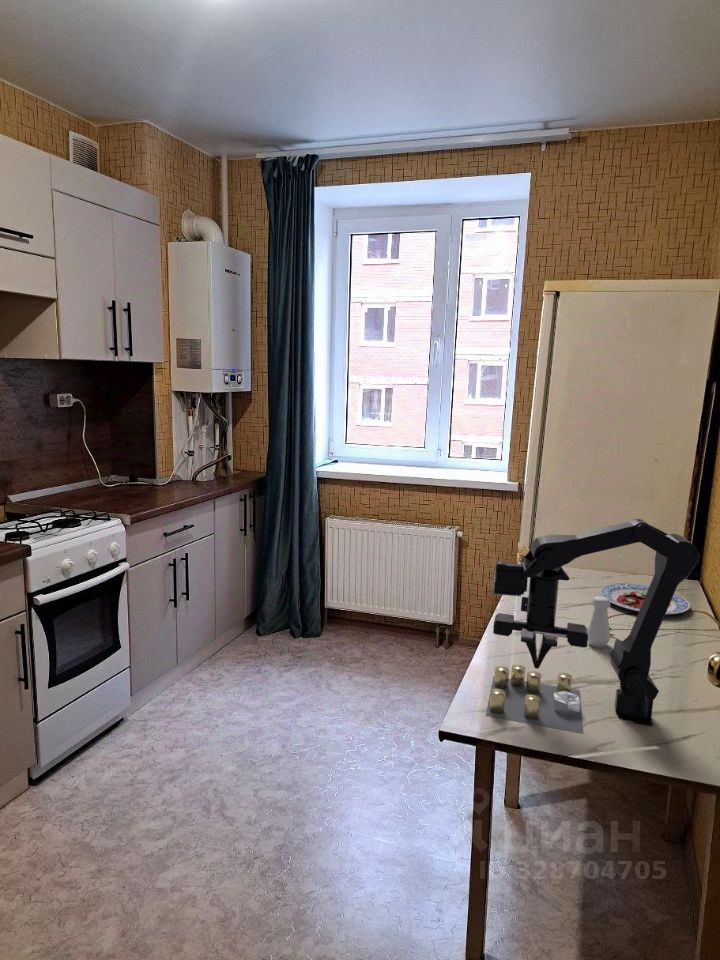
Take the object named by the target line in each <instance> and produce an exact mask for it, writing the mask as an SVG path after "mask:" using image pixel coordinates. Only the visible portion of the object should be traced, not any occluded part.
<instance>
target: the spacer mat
mask: <svg viewBox="0 0 720 960" xmlns="http://www.w3.org/2000/svg"><path fill="white" fill-rule="evenodd" d="M494 681H495V675H493V677H492V681H491V687H490V692H489V697H488V701H487V706H486V711H485V716H486V717H489V718H495V719H500V720H505V721H512V722H517V723H523V724H527V725H534V726H539V727H543V728H544V727H545V728H551V729H553V730H554V729H555V730H560V731H565V732H570V733H571V732H572V733H577V734H582V735H583V734H584V724H583V712H582V700H581V690H580V689H574V688H571V693H572V694H574V695H577V696H578V697H579V701H580V708H579V714H573V715H565V714H562V713H560V712H558V711H555V710H554V707H553V696H554V693H556V692H557V685H551V684H544V683H541V687H540V693H539V694H530V693H528V692H527V691H526V685H527V680H525V681H524V686H523V687H515V686H512V685H511V678H509V677H508V687H507V688H506V689H501V690H503V691H504V692H505V707H504V713H502V714H495V713H492V712H491V711H490V695H491V690H492V689H500V688H497V687H495V686H494ZM526 695H536V696H538V697H539V698H540V711H539V719H538V720H529V719H527V718H525V717H524V708H525V697H526Z"/></svg>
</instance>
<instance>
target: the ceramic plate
mask: <svg viewBox="0 0 720 960" xmlns="http://www.w3.org/2000/svg"><path fill="white" fill-rule="evenodd" d="M649 587H650V585H645V584H644V585H642V584H636V583H635V584H634V583H615V584H614V583H613V584H607V585H606V586H603V587H602V588H601V589H600V591H599V592H600V596H602V597H606V598H608V599H609V600H610V604H611V603H612V604H614V605H615V606H618V607H621V608H624V609H627V610H631V611H634V612H638V613H639V611H640V608H641V606H642V603H643V601H644V599H645V596H646V594H647V591H648V589H649ZM690 608H691V604H690V602H689V601H688V600H687V599H686V598H684V597H682V595H681V596H680V595H679V594H678V593H674V595H673V598H672V600H671V602H670V605H669V607H668V609H667V612H666V614H665V615H678V614H682V613H685V612H687V611H689V609H690Z"/></svg>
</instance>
